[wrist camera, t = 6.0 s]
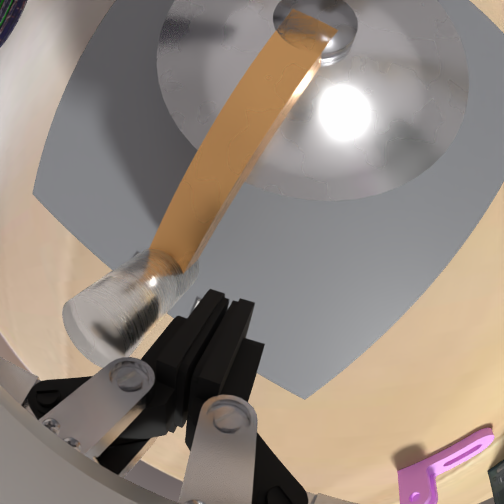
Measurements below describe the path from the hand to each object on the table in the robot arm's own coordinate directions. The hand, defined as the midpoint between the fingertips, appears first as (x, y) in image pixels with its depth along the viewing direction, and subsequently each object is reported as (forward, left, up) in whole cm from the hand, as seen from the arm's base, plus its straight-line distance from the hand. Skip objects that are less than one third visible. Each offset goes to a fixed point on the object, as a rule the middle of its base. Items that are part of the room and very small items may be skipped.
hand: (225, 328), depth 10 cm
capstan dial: (-8, -4, -5) cm, 10 cm away
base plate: (-8, -5, -7) cm, 12 cm away
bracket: (+7, +34, -8) cm, 36 cm away
